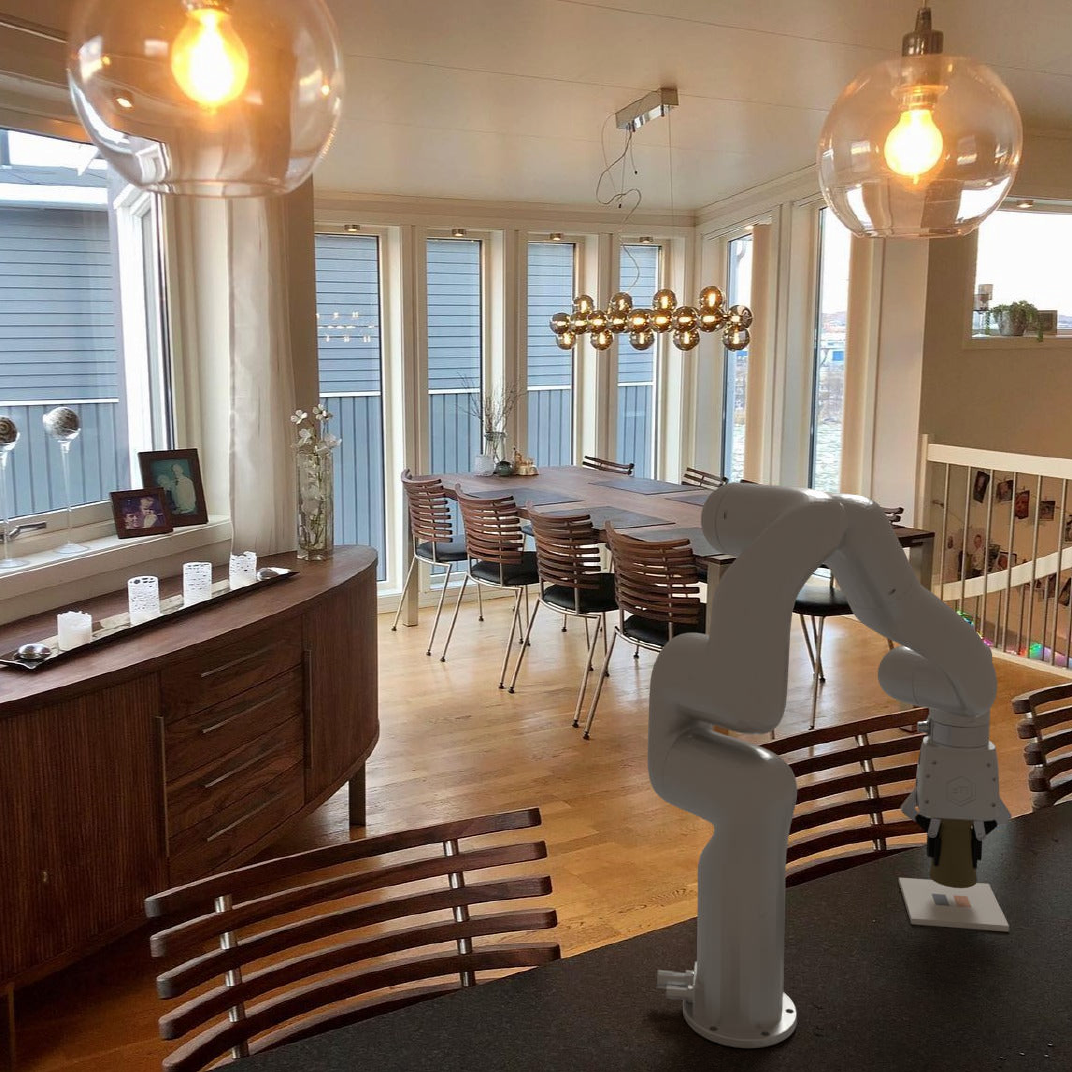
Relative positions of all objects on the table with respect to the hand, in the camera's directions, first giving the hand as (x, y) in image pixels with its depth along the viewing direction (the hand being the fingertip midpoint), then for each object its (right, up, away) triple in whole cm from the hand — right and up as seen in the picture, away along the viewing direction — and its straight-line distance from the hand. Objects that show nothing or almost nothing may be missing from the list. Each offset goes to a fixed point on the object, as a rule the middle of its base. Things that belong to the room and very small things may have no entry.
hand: (953, 861), depth 146 cm
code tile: (0, -6, +1) cm, 6 cm away
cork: (0, -3, 0) cm, 2 cm away
